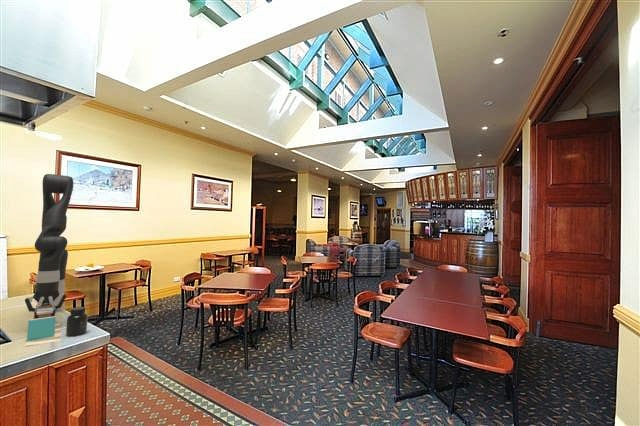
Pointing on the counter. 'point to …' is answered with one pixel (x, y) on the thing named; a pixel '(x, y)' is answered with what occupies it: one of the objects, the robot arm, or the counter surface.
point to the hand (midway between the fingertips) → (44, 319)
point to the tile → (41, 328)
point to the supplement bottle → (76, 322)
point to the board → (47, 340)
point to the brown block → (44, 310)
